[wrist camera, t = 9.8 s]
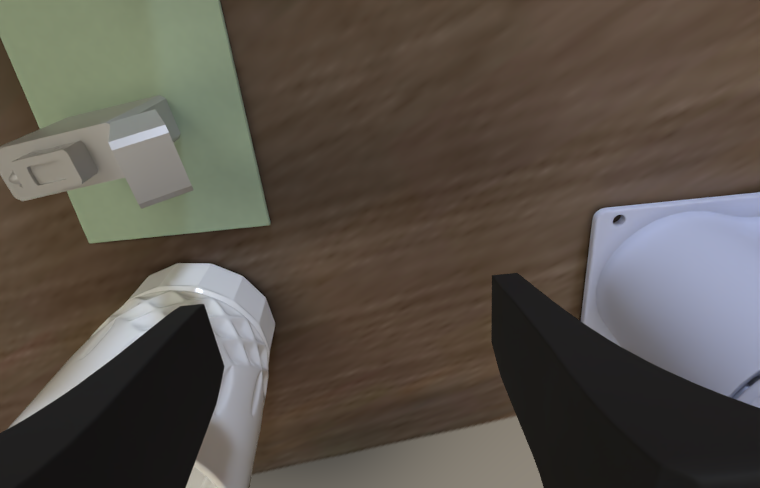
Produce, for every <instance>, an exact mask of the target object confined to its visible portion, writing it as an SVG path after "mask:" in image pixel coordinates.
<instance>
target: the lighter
mask: <svg viewBox="0 0 760 488" xmlns="http://www.w3.org/2000/svg"><path fill="white" fill-rule="evenodd" d="M180 134H181V133H180V131H179V129H178V126H177V124H176V122H175V119H174V117H173V114H172V112H171V110H170V107H169V105H168V103H167V100H166V98H164V97H162V96H160V95H157V96H153V97H149V98H145V99H141V100H137V101H133V102H129V103H124V104H120V105H116V106H112V107H108V108H104V109H100V110H96V111H92V112H87V113H83V114H79V115H75V116H71V117H67V118H65V119H62V120H60V121H58V122H55V123H53V124H51V125H48V126H46V127H44V128H41V129H39V130H37V131H35V132H32V133H30V134H28V135H25V136H23V137H21V138H18V139H16V140H14V141H11V142H9V143H7V144H4V145H2V146H0V175H1V177H2V178H3V180H4V181H5V183H6V185H7V186H8V188H9V189H10V191H11V193H12V194H13V196H14V197H15V198H17V199H19V200H21V201H26V200H30V199H34V198H39V197H43V196H47V195H52V194H56V193H60V192H65V191H69V190H73V189H78V188H82V187H86V186H91V185H95V184H100V183H104V182H108V181H113V180H117V179H121V178H126V180H127V182H128V184H129V186H130V188H131V190H132V192H133V194H134V196H135V198H136V200H137V202H138V204H139V206H140V208H141V209H142V208H145V207H148V206H151V205H154V204H156V203H159V202H162V201H165V200H168V199H170V198H173V197H176V196H179V195H182V194H184V193H187V192H190V191H193V187H192V185H191V182H190V180H189V178H188V176H187V173H186V171H185V169H184V166H183V164H182V162H181V159H180V157H179V155H178V152H177V150H176V148H175V145H174V142H175V141H176V140H178V138H179V136H180Z"/></svg>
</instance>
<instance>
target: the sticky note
mask: <svg viewBox="0 0 760 488" xmlns="http://www.w3.org/2000/svg"><path fill="white" fill-rule="evenodd" d="M0 37H1V40H2V42H3V44H4V47H5V49H6V51H7V54H8V56H9V58H10V61H11V63H12V65H13V68H14V70H15V72H16V75H17V77H18V79H19V81H20V84H21V86H22V88H23V91H24V93H25V95H26V98H27V100H28V102H29V105H30V107H31V109H32V112H33V114H34V116H35V119H36V121H37V123H38V126H39V128H40V129H41V128H44V127H46V126H48V125H51V124H53V123H55V122H58V121H60V120H62V119H65V118H67V117H71V116H75V115H79V114H83V113H87V112H92V111H96V110H100V109H104V108H108V107H112V106H116V105H120V104H124V103H129V102H133V101H137V100H141V99H145V98H149V97H153V96H157V95H160V96H162V97H164V98H166V100H167V103H168V105H169V107H170V110H171V112H172V114H173V117H174V119H175V122H176V124H177V126H178V129H179V131H180V133H181V134H180V136H179V138H178V140H176V141H175V142H174V145H175V148H176V150H177V152H178V155H179V157H180V159H181V162H182V164H183V166H184V169H185V171H186V173H187V176H188V178H189V180H190V182H191V185H192V187H193V191H190V192H187V193H184V194H182V195H179V196H176V197H173V198H170V199H168V200H165V201H162V202H159V203H156V204H154V205H151V206H148V207H145V208H142V209H141V208H140V206H139V204H138V202H137V200H136V198H135V196H134V194H133V192H132V190H131V188H130V186H129V184H128V182H127V180H126V178H121V179H117V180H113V181H108V182H104V183H100V184H95V185H91V186H86V187H82V188H78V189H73V190H69V191H67V193H68V195H69V198H70V200H71V202H72V205H73V207H74V209H75V212H76V214H77V216H78V219H79V221H80V223H81V226H82V228H83V230H84V233H85V235H86V237H87V239H88V242H89V243H99V242H109V241H119V240H129V239H139V238H148V237H158V236H168V235H178V234H188V233H198V232H207V231H217V230H227V229H237V228H247V227H257V226H267V225H270V219H269V214H268V210H267V205H266V201H265V197H264V192H263V188H262V183H261V179H260V175H259V170H258V166H257V161H256V157H255V153H254V148H253V144H252V139H251V135H250V131H249V126H248V122H247V117H246V113H245V109H244V104H243V100H242V95H241V91H240V87H239V82H238V78H237V73H236V69H235V65H234V60H233V56H232V51H231V47H230V43H229V38H228V34H227V30H226V25H225V21H224V16H223V12H222V8H221V3H220V0H0Z"/></svg>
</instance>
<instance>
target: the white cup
mask: <svg viewBox="0 0 760 488" xmlns="http://www.w3.org/2000/svg"><path fill="white" fill-rule="evenodd" d="M196 304H204V305H205V308H206V311H207V314H208V317H209V320H210V323H211V327H212V330H213V333H214V336H215V339H216V342H217V345H218V348H219V351H220V354H221V357H222V360H223V363H224V366H225V367H224V372H223V377H222V382H221V387H220V391H219V395H218V399H217V403H216V406H215V409H214V412H213V415H212V418H211V420H210V423H209V426H208V429H207V431H206V434H205V437H204V439H203V442H202V445H201V447H200V450H199V453H198V455H197V458H196V461H195V464H194V466H193V469H192V472H191V474H190V477H189V480H188V482H187V485H186V488H249V487H250V481H251V475H252V469H253V464H254V459H255V453H256V448H257V443H258V438H259V434H260V429H261V424H262V415H263V407H264V403H265V398H266V391H267V382H268V378H269V368H268V364H269V355H270V350H271V344H272V339H273V334H274V329H275V321H274V318H273V316H272V313H271V310H270V308H269V305H268V302H267V299H266V297H265V296H264V295H263V294H262V293H260V292H259V291H258V290H257V289H256V288H255V287H254V286H253V285H252V284H251V283H250V282H249V281H248V280H247V279H246V278H245V277H244V276H242V275H239V274H237V273H234V272H232V271H229V270H227V269H224V268H222V267H219V266H217V265H214V264H211V263H177V264H174V265H172V266H170V267H168V268H165V269H163V270H161V271H158V272H156V273H154V274H151V275H149V276H148V277H147V278H146V280H145V281H144V282H143V283H142V284H141V285H140V287H139V288H138V289H137V290H136V291H135V292H134V294H133V295H132V296H131V297H130V298H129V299H128V300H127V301H126V303H125V304H124V305H123V306H122V307H121V308H120V309H118V310H117V311H116V312H115V313H113V314H112V315H111V316H109V317H108V319H107V320H106V321H105V322H104V323H103V324H102V325H101V326H100V327H99V328H98V329H97V330H96V331H95V332H94V333H93V334H92V336H91V337H90V338H89V339H88V340H87V341H86V342H85V343H84V344H83V345H82V346H81V347H80V348H79V349H78V350H77V351H76V352H75V353H74V354H73V355H72V356H71V358H70V359H69V360H68V361H67V362H66V363H65V364H64V365H63V366H62V368H61V369H60V370H59V371H58V372H57V373H56V374H55V376H54V377H53V378H52V379H51V380H50V381H49V382H48V383H47V385H46V386H45V387H44V388H43V389H42V390H41V391H40V393H39V394H38V395H37V396H36V397H35V398H34V399H33V400H32V402H31V403H30V404H29V405H28V406H27V407H26V408H25V409H24V411H23V412H22V413H21V414H20V415H19V416H18V417H17V418H16V420H15V421H14V422H13V423H12V424H11V425H10V426H9V427H8V429H9V428H10V427H12V426H14V425H16V424H17V423H19V422H21V421H23V420H24V419H26V418H28V417H29V416H31V415H33V414H34V413H36V412H37V411H39V410H40V409H42V408H44V407H45V406H47V405H48V404H50V403H51V402H53V401H55V400H56V399H58V398H59V397H61V396H62V395H64V394H65V393H67V392H68V391H69V390H71V389H72V388H74V387H75V386H77V385H78V384H79V383H81V382H82V381H83V380H85V379H86V378H87V377H89V376H90V375H91V374H93V373H94V372H95V371H97V370H98V369H100V368H101V367H102V366H104V365H105V364H106V363H108V362H109V361H110V360H112V359H113V358H114V357H116V356H117V355H118V354H119V353H121V352H122V351H123V350H124V349H126V348H127V347H128V346H129V345H131V344H132V343H133V342H134V341H136V340H137V339H138V338H139V337H141V336H142V335H143V334H144V333H146V332H147V331H148V330H149V329H150V328H152V327H153V326H154V325H155V324H157V323H158V322H159V321H160V320H162V319H163V318H164V317H166V316H167V315H168V314H169V313H171V312H172V311H174V310H175V309H177V308H178V307H180V306H186V305H196Z"/></svg>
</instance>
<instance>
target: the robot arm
mask: <svg viewBox="0 0 760 488" xmlns="http://www.w3.org/2000/svg"><path fill="white" fill-rule="evenodd" d="M618 215H621V217H620V219H619V220H618V221H616V222H613V219H614V218H615V217H616V216H618ZM492 345H493V349H494V353H495V357H496V361H497V364H498V368H499V371H500V375H501V378H502V381H503V383H504V386H505V388H506V391H507V393H508V396H509V398H510V401H511V403H512V405H513V408H514V410H515V413H516V415H517V418H518V420H519V422H520V425H521V427H522V430H523V432H524V435H525V437H526V439H527V442H528V444H529V447H530V449H531V452H532V454H533V457H534V459H535V462H536V465H537V468H538V470H539V473H540V476H541V480H542V483H543V486H544V488H760V192H756V193H746V194H736V195H727V196H717V197H707V198H697V199H687V200H677V201H667V202H657V203H647V204H637V205H627V206H617V207H607V208H602V209H600V210H598V211H597V212H596V213H595V214H594V216H593V219H592V227H591V235H590V244H589V253H588V261H587V270H586V278H585V287H584V296H583V304H582V313H581V321H579V320H578V319H577V318H575V317H574V316H572V315H571V314H570V313H568V312H567V311H565V310H564V309H563V308H561V307H560V306H559V305H557V304H556V303H555V302H553V301H552V300H551V299H549V298H548V297H547V296H546V295H544V294H543V293H542V292H541V291H539V290H538V289H537V288H535V287H534V286H533V285H532V284H530V283H529V282H528V281H527V280H525V279H524V278H523V277H522V276H520V275H519V274H518V273H513V274H503V275H492ZM224 367H225V366H224V363H223V360H222V357H221V354H220V351H219V348H218V345H217V342H216V339H215V336H214V333H213V330H212V327H211V323H210V320H209V317H208V314H207V311H206V308H205V305H204V304H196V305H186V306H180V307H178V308H177V309H175V310H174V311H172V312H171V313H169V314H168V315H167V316H166V317H164V318H163V319H162V320H160V321H159V322H158V323H157V324H155V325H154V326H153V327H152V328H150V329H149V330H148V331H147V332H146V333H144V334H143V335H142V336H141V337H139V338H138V339H137V340H136V341H134V342H133V343H132V344H131V345H129V346H128V347H127V348H126V349H124V350H123V351H122V352H121V353H119V354H118V355H117V356H116V357H114V358H113V359H112V360H110V361H109V362H108V363H106V364H105V365H104V366H102V367H101V368H100V369H98V370H97V371H95V372H94V373H93V374H91V375H90V376H89V377H87V378H86V379H85V380H83V381H82V382H81V383H79V384H78V385H77V386H75V387H74V388H72V389H71V390H69V391H68V392H67V393H65V394H64V395H62V396H61V397H59V398H58V399H56V400H55V401H53V402H51V403H50V404H48V405H47V406H45V407H44V408H42V409H40V410H39V411H37V412H36V413H34V414H33V415H31V416H29V417H28V418H26V419H24V420H23V421H21V422H19V423H17V424H16V425H14V426H12V427H10V428H9V429H7V430H5V431H3V432H2V433H0V488H186V485H187V482H188V480H189V477H190V474H191V472H192V469H193V466H194V464H195V461H196V458H197V455H198V453H199V450H200V447H201V445H202V442H203V439H204V437H205V434H206V431H207V429H208V426H209V423H210V420H211V418H212V415H213V412H214V409H215V406H216V403H217V399H218V395H219V391H220V387H221V382H222V377H223V372H224Z"/></svg>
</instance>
